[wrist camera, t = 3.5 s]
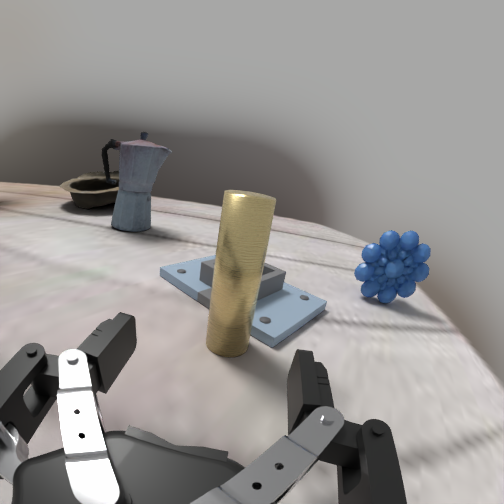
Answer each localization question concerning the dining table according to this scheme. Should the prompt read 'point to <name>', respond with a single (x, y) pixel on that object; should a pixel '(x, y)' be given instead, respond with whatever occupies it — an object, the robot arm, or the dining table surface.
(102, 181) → the stone bowl
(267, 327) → the square socket mounting plate
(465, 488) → the dining table surface
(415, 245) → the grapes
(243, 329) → the pin
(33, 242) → the dining table surface
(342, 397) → the dining table surface
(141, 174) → the moka pot
